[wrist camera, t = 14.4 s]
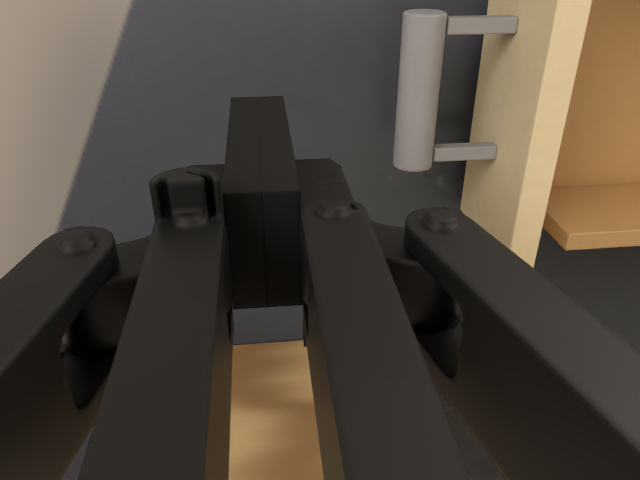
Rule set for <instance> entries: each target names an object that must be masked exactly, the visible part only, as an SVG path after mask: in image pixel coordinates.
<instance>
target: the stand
mask: <svg viewBox="0 0 640 480" xmlns="http://www.w3.org/2000/svg"><path fill="white" fill-rule="evenodd" d="M229 480H324V477H323V469H322V462H321V454H320V446H319V438H318V431H317V423H316V415H315V407H314V399H313V392H312V384H311V376H310V368H309V361H308V353H307V347H304V342H303V340H297V341H284V342H271V343H257V344H244V345H233V360H232V390H231V420H230V451H229Z"/></svg>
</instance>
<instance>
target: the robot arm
mask: <svg viewBox="0 0 640 480" xmlns="http://www.w3.org/2000/svg"><path fill="white" fill-rule="evenodd" d="M149 186H150V192H151V198H152V204H153V210H154V216H155V224H154V227H153V230H152V234H151V235H149V236H147V237H145V238H142V239H139V240H135V241H131V242H126V243H122V244H117V245H116V244H115V240H114V237H113V234H112V233H111V232H110V231H108V230H106V229H104V228H98V227H84V226H78V227H74V228H73V227H72V228H68V229H65V230H63V231H61V232H59V233H56V234H54V235H52V236H50V237H49V238H47V239H45V240H44V241H43V242H41V243H40V244H39V245H38V246H37V247H36V248H35V249H34V250H32V251H31V253H29V254H28V255H27V256H26V257H25V258H24V259H23V260H22V261H20V262H19V263H18V264H17V265H16V266H15V267H14V268H13V269H11V270H10V271H9V272H8V273H7V274H6V275H5V276H4V277H3V278H1V279H0V480H60V479H61V477H62V476H63V474H64V473H65V471H66V469H67V468H68V466H69V464H70V463H71V461H72V459H73V458H74V456H75V454H76V453H77V451H78V450H79V448H80V446H81V445H82V443H83V441H84V440H85V438H86V436H87V435H88V433H89V432H90V430H91V428H92V427H93V425H94V427H93V430H92V433H91V437H90V440H89V443H88V447H87V450H86V453H85V457H84V460H83V463H82V467H81V470H80V473H79V477H78V480H229V451H230V420H231V390H232V360H233V330H234V321H233V311H232V305H233V309H247V308H262V307H278V306H293V305H303V342H304V347H307V353H308V361H309V368H310V376H311V384H312V392H313V399H314V407H315V415H316V423H317V431H318V438H319V446H320V454H321V462H322V469H323V477H324V480H471V477H470V475H469V472H468V470H467V467H466V464H465V462H464V459H463V457H462V454H461V452H460V449H459V447H458V444H457V441H456V439H455V436H454V434H453V431H452V429H451V426H450V423H449V421H448V418H447V416H446V413H445V411H444V408H443V405H442V403H441V400H440V398H439V395H438V393H437V390H436V388H435V385H436V387H437V388H438V390H439V391H440V392H441V394H442V395H443V396H444V398H445V399H446V400H447V402H448V403H449V404H450V406H451V407H452V408H453V410H454V411H455V412H456V414H457V415H458V416H459V418H460V419H461V420H462V422H463V423H464V424H465V426H466V427H467V429H468V430H469V431H470V433H471V434H472V435H473V437H474V438H475V439H476V441H477V442H478V443H479V445H480V446H481V447H482V449H483V450H484V451H485V453H486V454H487V455H488V457H489V458H490V459H491V461H492V462H493V463H494V465H495V466H496V468H497V469H498V470H499V472H500V473H501V474H502V476H503V477H504V478H505V480H640V352H639V351H638V350H637V349H636V348H634V347H633V346H632V345H630V344H629V343H628V342H627V341H625V340H624V339H623V338H622V337H620V336H619V335H618V334H617V333H615V332H614V331H613V330H611V329H610V328H609V327H608V326H606V325H605V324H604V323H603V322H601V321H600V320H599V319H597V318H596V317H595V316H594V315H592V314H591V313H590V312H589V311H587V310H586V309H585V308H584V307H582V306H581V305H580V304H578V303H577V302H576V301H575V300H573V299H572V298H571V297H570V296H568V295H567V294H566V293H565V292H563V291H562V290H561V289H559V288H558V287H557V286H556V285H554V284H553V283H552V282H551V281H549V280H548V279H547V278H546V277H544V276H543V275H542V274H540V273H539V272H538V271H537V270H535V269H534V268H533V267H532V266H530V265H529V264H528V263H526V262H525V261H524V260H523V259H521V258H520V257H519V256H518V255H516V254H515V253H514V252H513V251H511V250H510V249H509V248H507V247H506V246H505V245H504V244H502V243H501V242H500V241H499V240H497V239H496V238H495V237H494V236H492V235H491V234H490V233H488V232H487V231H486V230H485V229H483V228H482V227H481V226H480V225H478V224H477V223H476V222H475V221H473V220H472V219H471V218H469V217H468V216H466V215H464V214H462V213H461V212H458V211H454V210H451V209H449V208H445V207H442V208H440V207H432V208H422V209H419V210H416V211H413V212H412V213H410V214H409V215H408V216H407V218H406V222H405V228H404V227H395V226H388V225H382V224H378V223H375V222H372V221H370V218H369V216H368V213H367V211H366V209H365V208H364V207H363V206H362V205H361V204H359V203H357V202H355V201H353V198H352V195H351V193H350V190H349V187H348V184H347V182H346V179H345V177H344V173H343V171H342V168H341V166H340V165H339V164H337V163H336V162H334V161H333V160H331V159H330V158H328V159H304V160H295V158H294V153H293V147H292V142H291V137H290V131H289V126H288V121H287V115H286V110H285V104H284V99H283V96H270V97H236V98H231V106H230V117H229V127H228V137H227V147H226V158H225V164H218V165H194V166H188V167H186V168H177V169H172V170H168V171H165V172H162V173H160V174H158V175H156V176H154V177H153V178H152V179H151V180H150V182H149ZM302 296H303V299H302ZM62 339H63V340H62ZM434 384H435V385H434Z"/></svg>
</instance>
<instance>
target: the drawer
mask: <svg viewBox="0 0 640 480" xmlns="http://www.w3.org/2000/svg"><path fill="white" fill-rule="evenodd" d="M445 34H446V35H481V34H484V39H483V46H482V53H481V61H480V68H479V75H478V83H477V90H476V97H475V105H474V112H473V119H472V127H471V134H470V141H469V143H449V144H434V138H435V129H436V119H437V109H438V100H439V90H440V80H441V71H442V61H443V52H444V42H445ZM432 160H433V161H434V162H440V161H462V160H467V163H466V171H465V178H464V185H463V193H462V200H461V207H460V209H461V211H462V212H463V213H464V215H466V216H468V217H469V218H471V219H472V220H473V221H475V222H476V223H477V224H478V225H480V226H481V227H482V228H483V229H485V230H486V231H487V232H488V233H490V234H491V235H492V236H494V237H495V238H496V239H497V240H499V241H500V242H501V243H502V244H504V245H505V246H506V247H507V248H509V249H510V250H511V251H513V252H514V253H515V254H516V255H518V256H519V257H520V258H521V259H523V260H524V261H525V262H526V263H528V264H529V265H530V266H532V267H533V268H534V263H535V259H536V254H537V250H538V245H539V241H540V236H541V231H542V227H543V228H544V229H545V230H546V231H547V232H548V233H549V234H550V235H551V236H552V237H553V238H554V239H555V240H556V241H557V242H558V244H559V245H560V246H561V247H562V248H563V249H564V250H580V249H596V248H612V247H628V246H640V0H489V2H488V9H487V15H480V16H447V12H445V11H442V10H435V9H411V10H406V11H404V13H403V22H402V37H401V52H400V67H399V81H398V96H397V111H396V126H395V141H394V155H393V164H394V166H395V167H396V168H398V169H400V170H404V171H409V172H420V171H425V170H428V169H429V168H430V167H431V166H432Z"/></svg>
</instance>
